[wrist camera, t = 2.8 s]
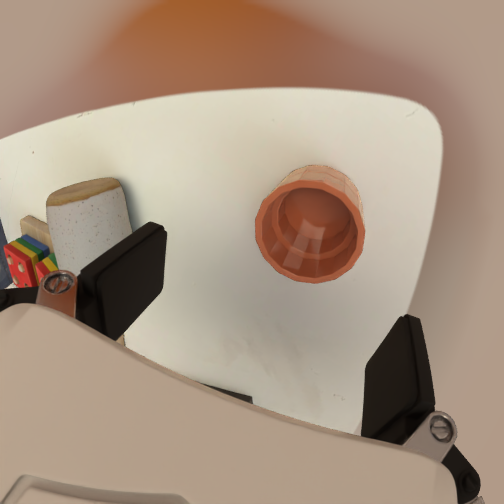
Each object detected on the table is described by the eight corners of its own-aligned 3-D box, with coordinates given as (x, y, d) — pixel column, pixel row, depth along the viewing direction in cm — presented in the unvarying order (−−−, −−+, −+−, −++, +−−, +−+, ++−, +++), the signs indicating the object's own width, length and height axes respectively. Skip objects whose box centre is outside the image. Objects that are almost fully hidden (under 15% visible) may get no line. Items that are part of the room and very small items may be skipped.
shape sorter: (28, 213, 32) (-6, 232, 26) (114, 254, 29) (74, 284, 23) (49, 309, 40) (25, 329, 35) (127, 358, 37) (103, 387, 32)
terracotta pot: (378, 213, 19) (386, 244, 15) (314, 261, 22) (304, 299, 18) (320, 145, 18) (311, 156, 14) (259, 201, 21) (234, 227, 17)
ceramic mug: (137, 169, 23) (68, 198, 17) (155, 256, 27) (100, 302, 20) (67, 180, 27) (10, 205, 20) (85, 249, 30) (36, 283, 24)
